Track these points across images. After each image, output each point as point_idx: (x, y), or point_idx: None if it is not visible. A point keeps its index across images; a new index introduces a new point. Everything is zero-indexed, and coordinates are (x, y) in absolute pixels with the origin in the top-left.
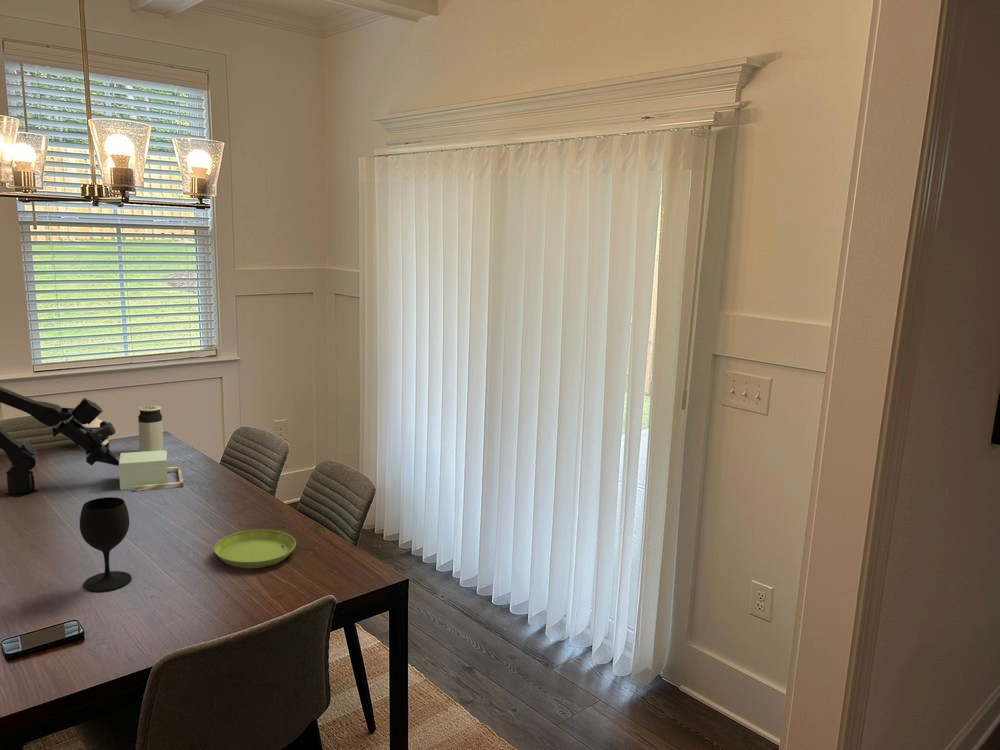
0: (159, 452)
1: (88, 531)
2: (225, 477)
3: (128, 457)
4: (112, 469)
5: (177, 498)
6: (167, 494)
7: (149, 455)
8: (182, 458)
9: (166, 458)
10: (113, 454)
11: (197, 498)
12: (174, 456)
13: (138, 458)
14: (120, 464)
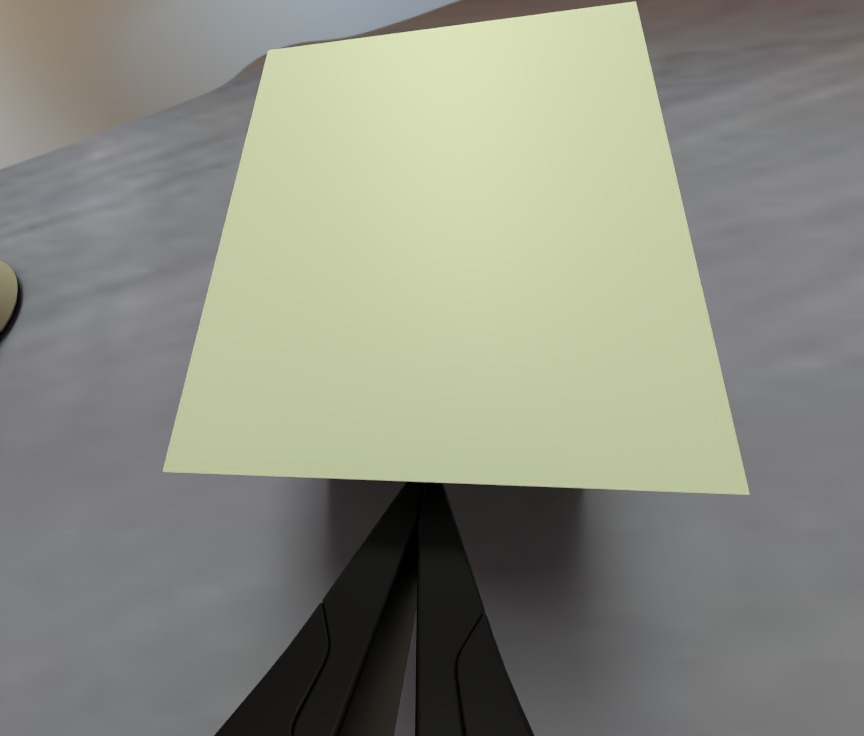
0: (324, 87)
1: None
2: (484, 14)
3: (417, 364)
4: (115, 528)
5: (801, 159)
6: (719, 208)
7: (402, 153)
8: (123, 181)
9: (565, 11)
10: (326, 606)
11: (806, 80)
12: (72, 214)
13: (501, 246)
14: (732, 469)
